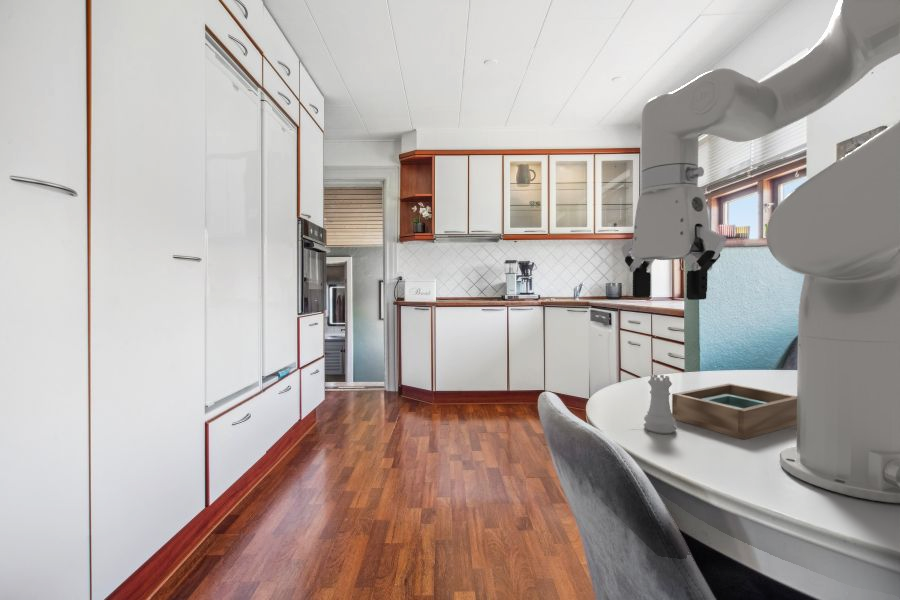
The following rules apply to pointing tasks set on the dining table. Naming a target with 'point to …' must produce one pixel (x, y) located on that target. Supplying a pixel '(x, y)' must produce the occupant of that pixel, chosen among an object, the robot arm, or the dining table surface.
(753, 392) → the walled box
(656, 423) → the rook chess piece
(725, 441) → the dining table surface
